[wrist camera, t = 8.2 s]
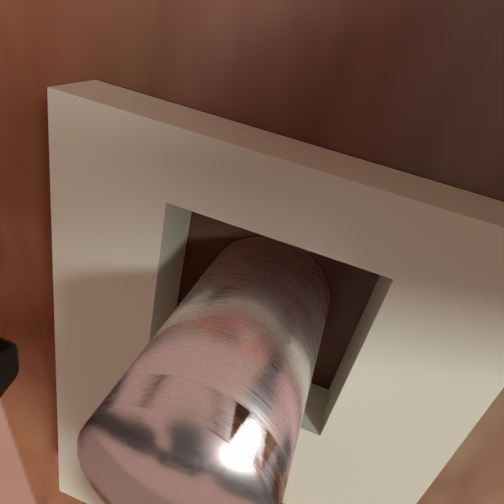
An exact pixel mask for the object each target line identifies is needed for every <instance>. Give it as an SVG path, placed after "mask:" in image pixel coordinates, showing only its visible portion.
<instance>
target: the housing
mask: <svg viewBox="0 0 504 504" xmlns="http://www.w3.org/2000/svg"><path fill="white" fill-rule="evenodd" d="M47 98H48V131H49V163H50V196H51V228H52V261H53V293H54V326H55V358H56V391H57V423H58V456H59V488H60V491H61V492H63V493H66V494H68V495H70V496H72V497H74V498H76V499H78V500H81V501H83V502H85V503H87V504H105V503H104V502H103V501H102V500H101V498H100V497H99V496H98V495H97V494H96V492H95V491H94V490H93V488H92V487H91V485H90V484H89V482H88V481H87V479H86V477H85V475H84V473H83V471H82V469H81V466H80V463H79V459H78V455H77V439H78V436H79V432H80V430H81V429H82V427H83V425H84V424H85V423H86V421H87V420H88V419H89V418H90V416H91V415H92V414H93V412H94V411H95V410H96V409H97V407H98V406H99V405H100V404H101V402H102V401H103V400H104V399H105V397H106V396H107V395H108V394H109V392H110V391H111V390H112V389H113V387H114V386H115V385H116V384H117V382H118V381H119V380H120V378H121V377H122V376H123V375H124V373H125V372H126V371H127V370H128V368H129V367H130V366H131V365H132V363H133V362H134V361H135V360H136V358H137V357H138V356H139V355H140V353H141V352H142V351H143V350H144V348H145V347H146V346H147V344H148V343H149V342H150V341H151V339H152V338H153V337H154V336H155V334H156V333H157V332H158V331H159V329H160V328H161V327H162V326H163V324H164V323H165V322H166V321H167V319H168V318H169V317H170V316H171V314H172V313H173V312H174V310H175V309H176V308H177V302H178V296H179V289H180V283H181V277H182V270H183V264H184V257H185V251H186V245H187V238H188V232H189V226H190V219H191V213H192V212H195V213H198V214H201V215H204V216H207V217H210V218H213V219H216V220H219V221H222V222H225V223H228V224H231V225H234V226H237V227H240V228H243V229H246V230H248V231H251V232H254V233H257V234H260V235H263V236H266V237H269V238H272V239H275V240H278V241H281V242H284V243H287V244H290V245H293V246H296V247H299V248H302V249H305V250H308V251H311V252H314V253H316V254H319V255H322V256H325V257H328V258H331V259H334V260H337V261H340V262H343V263H346V264H349V265H352V266H355V267H358V268H361V269H364V270H367V271H370V272H373V273H376V274H379V275H380V276H379V278H378V280H377V283H376V285H375V287H374V289H373V292H372V294H371V296H370V298H369V300H368V303H367V305H366V307H365V309H364V312H363V314H362V316H361V318H360V321H359V323H358V325H357V327H356V330H355V332H354V334H353V336H352V339H351V341H350V343H349V345H348V347H347V350H346V352H345V354H344V356H343V359H342V361H341V363H340V365H339V368H338V370H337V372H336V374H335V377H334V379H333V381H332V383H331V386H330V388H329V390H328V389H326V388H323V387H321V386H318V385H315V384H313V383H311V385H310V389H309V393H308V397H307V401H306V406H305V410H304V414H303V418H302V422H301V427H300V431H299V435H298V439H297V443H296V448H295V452H294V456H293V460H292V464H291V469H290V473H289V477H288V481H287V485H286V490H285V494H284V498H283V503H284V504H416V503H417V502H418V501H419V499H420V498H421V497H422V495H423V494H424V493H425V491H426V490H427V489H428V487H429V486H430V485H431V483H432V482H433V481H434V479H435V478H436V477H437V475H438V474H439V473H440V471H441V470H442V469H443V467H444V466H445V465H446V463H447V462H448V461H449V459H450V458H451V457H452V455H453V454H454V453H455V451H456V450H457V449H458V447H459V446H460V445H461V443H462V442H463V441H464V439H465V438H466V437H467V435H468V434H469V433H470V431H471V430H472V429H473V427H474V426H475V425H476V423H477V422H478V421H479V419H480V418H481V417H482V415H483V414H484V413H485V411H486V410H487V409H488V407H489V406H490V405H491V403H492V402H493V401H494V399H495V398H496V397H497V395H498V394H499V393H500V391H501V390H502V389H503V387H504V202H503V201H499V200H496V199H493V198H489V197H486V196H483V195H479V194H476V193H473V192H469V191H466V190H463V189H459V188H456V187H453V186H449V185H446V184H443V183H439V182H436V181H433V180H429V179H426V178H423V177H419V176H416V175H412V174H409V173H406V172H402V171H399V170H396V169H392V168H389V167H386V166H382V165H379V164H376V163H372V162H369V161H366V160H362V159H359V158H356V157H352V156H349V155H346V154H342V153H339V152H336V151H332V150H329V149H326V148H322V147H319V146H316V145H312V144H309V143H305V142H302V141H299V140H295V139H292V138H289V137H285V136H282V135H279V134H275V133H272V132H269V131H265V130H262V129H259V128H255V127H252V126H249V125H245V124H242V123H239V122H235V121H232V120H229V119H225V118H222V117H219V116H215V115H212V114H208V113H205V112H202V111H198V110H195V109H192V108H188V107H185V106H182V105H178V104H175V103H172V102H168V101H165V100H162V99H158V98H155V97H152V96H148V95H145V94H142V93H138V92H135V91H132V90H128V89H125V88H122V87H118V86H115V85H111V84H108V83H105V82H101V81H98V80H91V81H84V82H77V83H71V84H64V85H57V86H51V87H47Z"/></svg>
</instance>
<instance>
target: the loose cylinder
mask: <svg viewBox="0 0 504 504" xmlns="http://www.w3.org/2000/svg"><path fill="white" fill-rule="evenodd" d="M329 303H330V291H329V285H328V282H327V279H326V277H325V275H324V273H323V271H322V269H321V268H320V266H319V265H318V263H317V262H316V261H315V260H314V259H313V258H312V257H311V256H310V255H309V254H308V253H307V252H306V251H304V250H303V249H302V248H299V247H296V246H293V245H290V244H287V243H284V242H281V241H278V240H275V239H272V238H269V237H266V236H250V237H246V238H242V239H239V240H237V241H235V242H233V243H231V244H230V245H228V246H227V247H226V248H225V249H223V251H222V252H221V253H220V254H219V255H218V256H217V258H216V259H215V260H214V261H213V263H212V264H211V265H210V266H209V268H208V269H207V270H206V271H205V273H204V274H203V275H202V276H201V278H200V279H199V280H198V282H197V283H196V284H195V285H194V287H193V288H192V289H191V290H190V292H189V293H188V294H187V295H186V297H185V298H184V299H183V300H182V302H181V303H180V304H179V305H178V307H177V308H176V309H175V310H174V312H173V313H172V314H171V316H170V317H169V318H168V319H167V321H166V322H165V323H164V324H163V326H162V327H161V328H160V329H159V331H158V332H157V333H156V334H155V336H154V337H153V338H152V339H151V341H150V342H149V343H148V344H147V346H146V347H145V348H144V350H143V351H142V352H141V353H140V355H139V356H138V357H137V358H136V360H135V361H134V362H133V363H132V365H131V366H130V367H129V368H128V370H127V371H126V372H125V373H124V375H123V376H122V377H121V378H120V380H119V381H118V382H117V384H116V385H115V386H114V387H113V389H112V390H111V391H110V392H109V394H108V395H107V396H106V397H105V399H104V400H103V401H102V402H101V404H100V405H99V406H98V407H97V409H96V410H95V411H94V412H93V414H92V415H91V416H90V418H89V419H88V420H87V421H86V423H85V424H84V425H83V427H82V429H81V430H80V432H79V436H78V439H77V455H78V459H79V463H80V466H81V469H82V471H83V473H84V475H85V477H86V479H87V481H88V482H89V484H90V485H91V487H92V488H93V490H94V491H95V492H96V494H97V495H98V496H99V497H100V498H101V500H102V501H103V502H104V503H105V504H282V502H283V498H284V494H285V490H286V485H287V481H288V477H289V473H290V469H291V464H292V460H293V456H294V452H295V448H296V443H297V439H298V435H299V431H300V427H301V422H302V418H303V414H304V410H305V406H306V401H307V397H308V393H309V389H310V385H311V380H312V376H313V372H314V368H315V364H316V359H317V355H318V351H319V347H320V343H321V338H322V334H323V330H324V326H325V322H326V317H327V313H328V309H329Z"/></svg>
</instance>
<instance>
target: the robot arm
mask: <svg viewBox="0 0 504 504" xmlns="http://www.w3.org/2000/svg"><path fill="white" fill-rule="evenodd" d="M18 372H19V359H18V348H17V345H16V344H15V343H14V342H11V341H9V340H6V339H4V338H0V397H1V396H2V395H3V394H4V392H5V391H6V390H7V388H8V387H9V386H10V385H11V383H12V382H13V381H14V379H15V378H16V376H17V374H18Z"/></svg>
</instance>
